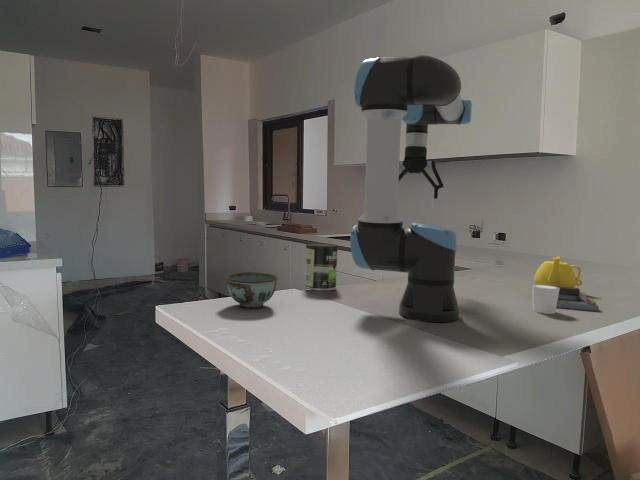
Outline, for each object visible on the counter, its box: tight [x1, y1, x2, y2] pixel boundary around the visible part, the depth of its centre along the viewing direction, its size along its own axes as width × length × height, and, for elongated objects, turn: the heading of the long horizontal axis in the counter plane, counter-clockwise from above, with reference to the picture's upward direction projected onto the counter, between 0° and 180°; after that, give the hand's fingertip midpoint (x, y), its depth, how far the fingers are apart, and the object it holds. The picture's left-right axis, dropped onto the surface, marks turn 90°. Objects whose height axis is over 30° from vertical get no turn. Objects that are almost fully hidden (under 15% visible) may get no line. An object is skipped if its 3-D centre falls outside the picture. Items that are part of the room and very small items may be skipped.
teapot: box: [533, 255, 583, 288], centre depth 165 cm, size 20×15×12 cm
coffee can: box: [304, 242, 339, 292], centre depth 156 cm, size 10×10×14 cm
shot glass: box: [531, 284, 560, 315], centre depth 134 cm, size 7×7×7 cm
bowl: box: [225, 271, 279, 310], centre depth 127 cm, size 14×13×8 cm
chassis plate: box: [549, 285, 600, 312], centre depth 147 cm, size 18×14×4 cm
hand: (412, 207), depth 170 cm, fingers open, 13 cm apart
